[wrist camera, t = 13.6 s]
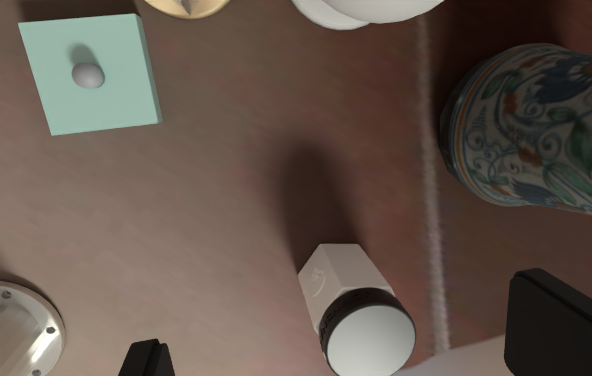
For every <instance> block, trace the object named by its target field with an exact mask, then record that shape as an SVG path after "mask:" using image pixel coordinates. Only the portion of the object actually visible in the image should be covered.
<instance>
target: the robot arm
mask: <svg viewBox="0 0 592 376" xmlns="http://www.w3.org/2000/svg"><path fill="white" fill-rule="evenodd" d="M64 344H65V329H64V326H63V322H62V320H61V318H60V316H59V314H58V312H57V311H56V310H55V309H54V307H53V306H52V305H51V304H50V303H49V302H48V301H47V300H45V299H44V298H43V297H42V296H41V295H39V294H37V293H36V292H34V291H32V290H30V289H28V288H26V287H23V286H20V285H18V284H14V283H9V282H5V281H0V376H45V375H46V374H47V373H48V372H49V371H50V370H51V369H52V368H53V366H54V365H55V363H56V362H57V360H58V359H59V357H60V355H61V353H62V351H63V348H64ZM504 360H505V363H506V365H507V367H508V368H509V370H510V371H511V372H512V373H513V374H514V375H515V376H592V299H591V298H589V297H588V296H586V295H584V294H583V293H581V292H579V291H578V290H576V289H574V288H573V287H571V286H569V285H568V284H566V283H564V282H563V281H561V280H559V279H558V278H556V277H554V276H553V275H551V274H549V273H548V272H546V271H544V270H543V269H540V268H533V269H528V270H523V271H518V272H516V273H515V275H514V278H512V279H511V280H510V287H509V299H508V312H507V324H506V336H505V349H504ZM118 376H175V373H174V369H173V365H172V361H171V357H170V353H169V349H168V346H167V344H166V343H163V344H160V343H159V341H158V339H151V340H146V341H140V342H135V343H133V344H131V346H130V348H129V351H128V353H127V355H126V358H125V360H124V363H123V365H122V367H121V370H120V372H119V375H118Z"/></svg>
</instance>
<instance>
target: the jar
mask: <svg viewBox="0 0 592 376" xmlns="http://www.w3.org/2000/svg"><path fill="white" fill-rule="evenodd" d="M298 279H299V282H300V285H301V288H302V292H303V295H304V298H305V301H306V305H307V308H308V311H309V314H310V317H311V321H312V324H313V327H314V329H315V331H316V332H317V334H318V336H319V338H320V344H321V348H322V351H323V355H324V357H325V359H326V361H327V363H328V365H329V367H330V368H331V370H332V371H333V372H334V373H335V374H336V375H337V376H391V375H393V374H394V373H395V372H397V371H398V370H399V369H400V368H401V367H402V366H404V364H405V363H406V362H407V361H408V359H409V358H410V356H411V354H412V352H413V350H414V347H415V343H416V328H415V325H414V322H413V320H412V318H411V317H410V315H409V314H408V313H407V311H406V310H405V309H404V307H403V306H402V305H401V303H400V302H399V301H398V299H397V298H396V297H395V295H394V292H393V290H392V288H391V286H390V285H389V284H388V282H387V281H386V280H385V278H384V277H383V276H382V274H381V273H380V272H379V270H378V269H377V268H376V266H375V265H374V264H373V262H372V261H371V260H370V259H369V257H368V256H367V255H366V253H365V252H364V251H363V249H362V248H361V247H360V245H359V244H319V246H318V247H317V248H316V250H315V251H314V253H313V254H312V255H311V257H310V258H309V260H308V261H307V263H306V264H305V265H304V267H303V268H302V270H301V271H300V272H299V274H298Z"/></svg>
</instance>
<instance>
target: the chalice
mask: <svg viewBox="0 0 592 376" xmlns="http://www.w3.org/2000/svg"><path fill="white" fill-rule="evenodd" d="M291 1H292V3H293V4H294V5H295V6H296V8H297V9H298V10H299V12H301V13H302V14H303V15H304V16H306V17H307V18H308V19H309V20H311V21H312V22H314V23H316V24H319V25H321V26H323V27H325V28H330V29H335V30H351V29H356V28H359V27H362V26H365V25H367V24H369V23H371V22H372V23H388V22H398V21H403V20H406V19H409V18H412V17H414V16H417V15H420V14H422V13H425V12H427V11H429V10H431V9H432V8H434V7H435V6H436V5H438V4H439V3H441V2H442V1H444V0H291Z"/></svg>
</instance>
